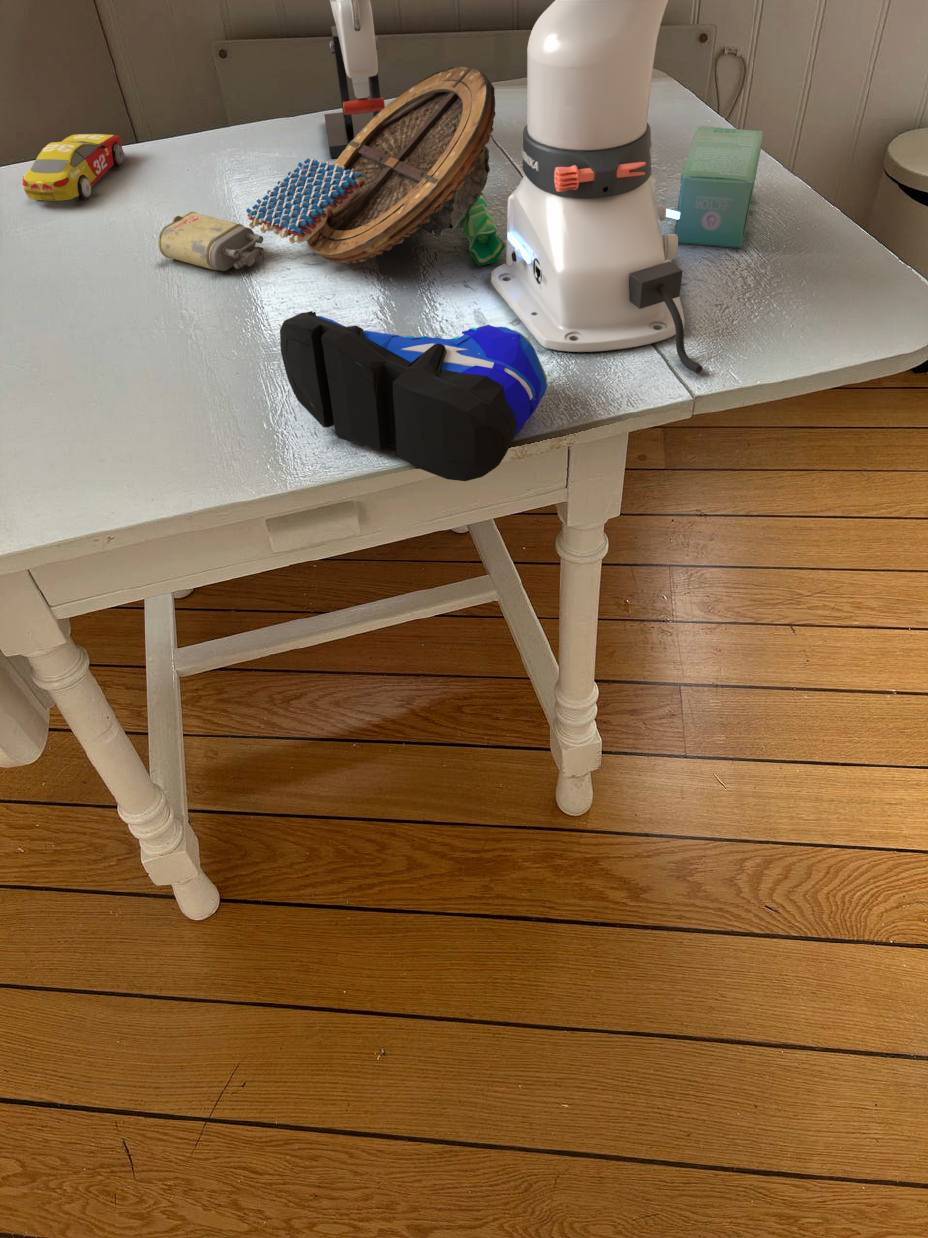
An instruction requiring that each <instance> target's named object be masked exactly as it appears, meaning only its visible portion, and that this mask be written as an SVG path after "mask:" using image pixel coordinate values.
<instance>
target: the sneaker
mask: <svg viewBox="0 0 928 1238" xmlns="http://www.w3.org/2000/svg"><path fill="white" fill-rule="evenodd" d="M461 334H462V335H461V336H459V335H458V336H455V337H453V338H441V337H439V336H436V335H435V336H434V337H429V336H426V335H419V337H418V336H414V335H406V336H402V335H399V334H391V333H385V332H377V331H371V330H364V328H362V327H360V326H358V325H349V326H345V325H343V324H341V323H340V322H337V321H335V320H333V319H331V318H328V317H325V316H323V315H322V316H321V315H320V316H319V315H317V313H316V311H313V310H310V311H305V312H300V313H299V314H296V315H294V316H292V317H289V318H287V319H285V320H283V322H282V324H281V326H280V329H279V341H280V342H279V343H280V354H281V358H282V362H283V366H284V370H285V374H286V377H287V380H288V383H289V385H290V388H291V390H292V392H293V394H294V396H295V398H296V400H297V402H298V403H299V404H300V405H301V406H302V407H303V408H304V409H305V410H306V411H307V412H308V413H309V414H310V415H311V417H313V418H314V420H316V422H318V423H319V424H320V425H321V426H322V428H330V427H333V426H334V427H333V428H334V433H335V435H336V436H337V438H338V439H341V440H344V441H347V442H350V443H354V444H357V445H361V446H364V447H367V448H370V449H373V450H377V451H381V450H384V449H386V448H389V447H393V448H396V456H397V457H398V458H399V459H401V460H403V461H404V462H406V463H409V464H410V465H412V466H413V467H415V468H417V469H419V470H422V471H424V472H427V473H429V474H433V475H435V476H437V477H440V478H442V479H445V480H450V481H458V482H468V481H472V480H476V479H479V478H483V477H484V476H486V475H487V474H489V473H491V472H492V471H493V470H495V469H496V468H498V466H499V465H500V464H501V463H502V461H503V460H504V458H505V457H506V455H507V453H508V452H509V449H510V447H511V444H512V442H513V441H514V440H515V438H516V437H517V436H518V434H520V433H521V431H522V430H523V428H524V427H525V426H526V425H527V424H528V422H529V420H530V418H531V417H532V415H533V414H534V413H535V412H536V410H537V409H538V406H539V404H540V402H541V401H542V400H543V398H544V397H545V396H546V392H547V390H548V376H547V374H546V372H545V369H544V367H543V365H542V363H541V361H540V358H539V356H538V353H537V352H536V349H535V347H534V346H533V345H532V343H531V341H530V339H529V338H528V337H526V336H525V335H524V334H522V333H521V332H519V331H518V330H517V329H511V328H509V327H507V326H494V325H490V324H486V325H483V326H479V327H470V328H469V329H467V330H464V331H461Z"/></svg>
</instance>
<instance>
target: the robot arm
mask: <svg viewBox="0 0 928 1238" xmlns="http://www.w3.org/2000/svg"><path fill="white" fill-rule="evenodd" d="M668 2H669V0H554V1H552V3H551V4H550V5H549V6H548V7H546V9H545V10H544V11H543V12H542V14H540V16H539V17H538V18H537V20H536V21H535V23H534V25H533V26H532V30H531V32H530V34H529V38H528V41H527V42H528V43H527V48H526V51H527V52H526V56H527V57H526V61H527V62H526V65H527V66H526V67H527V68H526V69H527V70H526V74H527V75H526V79H527V80H526V81H527V82H526V84H527V85H526V91H527V92H526V95H527V97H526V108H527V109H526V111H527V113H526V118H527V119H526V120H527V122H526V125H525V126H524V128H523V131H522V141H521V145H520V146H521V151H520V152H521V153H520V154H521V158H522V161H521V162H522V164H521V166H522V168H521V169H522V171H523V173H524V174H523V176H522V179H521V180H520V182H519V184H518V186H516V188H515V189H514V190H513V192H512V193H511V194H510V195H509V196H508V199H507V214H506V217H507V218H506V246H505V247H506V248H505V249H506V253H505V254H506V255H505V256H506V258H505V259H506V261H505V262H504V263H502V264H500V265H499V266H497V267H495V268H494V269H493V270H492V271H491V273H490V283H491V285H492V286H493V288H494V289H495V290H496V292H497V293H498V294H499V295H500V296H501V298H502V300H504V301H505V303H506V304H507V305H508V306H509V308H510V309H511V310H512V311H513V312H514V313H515V315H516V316H517V317H518V319H519V320H520V321H521V322H522V324H523V325H524V326H525V328H526V329H527V330H528V332H530V333H531V335H532V336H533V337H534V338H535V340H536V341H537V343H539V344H540V346H542V347H543V348H545V349H549V350H553V351H559V352H572V353H575V352H576V353H586V352H587V353H593V352H604V351H605V352H606V351H607V352H608V351H614V350H616V351H617V350H623V349H630V348H636V347H640V346H641V347H642V346H645V345H650V344H654V343H658V342H661V341H664V340H668V339H670V338H671V337H674V336H675V346H676V347H675V348H676V353H677V356H678V358H679V360H680V362H681V363H682V364H683V366H685V367H686V368H687V369H689V370H691V371H693V372H695V374H700V373H702V371H703V366H702V365H701V364H699V363H698V362H696V361H694V360H692V359H691V358H690V357H689V356H688V354H687V352H686V349H685V331H684V330H685V315H684V311H683V306H682V301H681V297H680V295H681V289H682V288H681V287H682V282H683V281H682V279H683V272H684V270H683V269H681V268H680V267H679V266H678V265H676V264H675V263H673V262H672V260H675V259H677V257H678V251H679V243H678V236H677V235H675V233H663V234H662V229H661V228H662V227H661V222H662V221H665V220H666V218H670V219H673V220H676V219H679V218H680V212H677V211H678V210H674V209H673V210H672V209H669V208H667V205H664V204H658V201H657V196H656V195H657V194H656V184H657V183H656V179H655V178H653V175H652V156H653V143H652V133H651V132H652V131H651V126H650V123H649V122H648V116H649V106H650V97H651V88H652V79H653V70H654V63H655V55H656V49H657V43H658V42H657V41H658V37H659V32H660V29H661V25H662V21H663V18H664V14H665V11H666V8H667V6H668ZM329 3H330V8H331V11H332V15H333V18H334V19H333V20H334V23H335V26H336V27H337V32H338V37H339V41H340V46H341V51H342V56H343V61H344V66H345V70H346V77H348V78H349V79H351V82H352V88H353V92H354V97H355V98H356V99H357V100H358V99H360V98H367V99H368V98H369V97H370V95H371V92H370V83H369V77H371V76H375V75H377V73H378V74H379V60H378V52H377V50H378V49H377V50H376V41H375V37H376V33H375V25H374V15H373V9H372V2H371V0H329Z"/></svg>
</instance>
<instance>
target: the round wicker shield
mask: <svg viewBox="0 0 928 1238" xmlns="http://www.w3.org/2000/svg"><path fill="white" fill-rule="evenodd" d="M495 89H496V88H495V86H494V85H493V84H492V82H491V81H490V80H489V78H488V77H487V76H486V74H484V73H483V72H482V71H481V70H478V69H475V68H472V67H464V66H456V67H455V66H454V67H449V68H448V69H447V70H440V71H436V72H435V73H433V74H431V75H428V76H427V77H425V78H424V79H422V80H420V81H418V82H417V83H415V84H414V85H413V86H411V87H409V88H408V89H407V90H405V91H404V92H403V93H401V94H400V95H399V96H397V97H396V98H395V99H393V100H392V101H390V102H389V103H388V104H387V105H385V108H384V109H382V110H381V111H380V112H379V113H378V114H377V115H376V116H375V117H374V118H373V119H372V120H371V121H370V122H369V123H368V124H367V125H366V126H365V127H364V128H363V129H362V130H361V131H360V132H359V133H358V135H357V136H356V137H355V138H354V139H353V140H352V141H351V142H350V143H349V145H348V146H347V147H346V148H345V149H344V151H343V152H342V153H341V155H340V156H339V158H336V160H335V162H334V163H332V164H333V166H334V167H335V165H338V167H342V168H343V166H344V167H345V169H344V170H351V171H352V169H354V172H358V173H360V174H361V177H363V178H365V179H366V181H365V184H364V186H362V187H361V188H359V192H358V193H357V194H356V195H355V196H354V197H353V198H352V199H351V200H350V201H349V202H348V203H347V204H346V205H345V206H344V207H343V208H342V209H341V210H340V211H338V212H335V213H332V215H330V216H327V220H326V222H325V224H324V226H322V227H321V228H320V229H319V230H318V231H317V232H316V233H315V234H314V235H312V236H311V237H310V238H309V239H308V240H307V241H306V244H307V245H308V247H309V248H310V249H311V250H312V251H313V252H315V253H316V254H318V255H320V257H322V258H323V259H325V260H326V261H329V262H335V263H343V264H351V263H353V264H356V263H362V262H365V261H366V260H367V259H371V258H375V257H376V256H378V255H379V256H380V255H382V254H383V252H384V251H391V250H392V249H393V246H396V245H399V244H402V243H403V242H404V240H405V238H409V237H410V234H414V233H415V232H417V231H418V230H419V229H420V228H421V227H420V226H419V225H420V224H424V223H427V222H429V221H430V217H429V216H430V215H429V214H431V213H436V212H437V211H439V210H440V209H442V207H443V206H444V204H443V202H447V201H449V200H450V199H451V198H452V197H453V195H454V192H453V191H454V190H458V189H460V188H461V186H462V185H463V184H464V182H465V181H464V180H463V179H464V177H465V176H466V175H468V174H469V173H470V172H471V171H473V170H474V168H475V165H476V164H475V162H474V161H475V160H477V159H478V158H479V157H480V156H481V155H482V153H483V151H484V150H483V148H484V146H486V145H487V144H489V141H490V139H491V133H493V131H494V128H493V126H494V119H495V116H496V97H495V96H496V95H495V93H496V91H495ZM356 178H357V177H356ZM345 194H348V193H345ZM341 199H342V197H341ZM315 223H316V222H314V224H315ZM309 228H310V227H309Z"/></svg>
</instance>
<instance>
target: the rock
mask: <svg viewBox="0 0 928 1238" xmlns="http://www.w3.org/2000/svg"><path fill="white" fill-rule="evenodd" d="M483 150H484V151H483V153H482V155H481V156H480V157H479V158H478V159H477V160H475V161H474V162H475V164H476V165H475V168H474V170H473V171H471V172H470V173H469V174H468V175H466V176H465V177H464V179H463V180H464V181H465V182H464V184H463V185H462V186H461V188H460V189H458V190H454V191H453V192H454V195H453V197H452V198H451V199H450V200H449V201H447V202H443V204H444V206H443V207H442V209H440V210H439V211H437V212H436V213H431V214H429V215H430V216H429V217H430V221H429V222H427V223H424V224H420V225H419V226H420V228H421V230H423V231H425V233H427V234H429V235H431V236H433V237H434V238H436V239H437V238H439V237H440V236H441V235H442V233H443V231H445V230H454V229H456V228H457V226H458V225H459V224H461V223H460V221H461V219H462V218H465V216H466V214H467V213H468V212H469V210H470V209H471V206H472V205H473V204H474V203H475V202H477V200H478V199H479V198H480V196H481V192H482V193H483V191H484V189H485V187H486V184H487V182H488V176H489V173H490V172H491V167H490V165H489V161H490V154H489V153H490V151H489V148H488V146H486V145H485V146H484V148H483Z"/></svg>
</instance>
